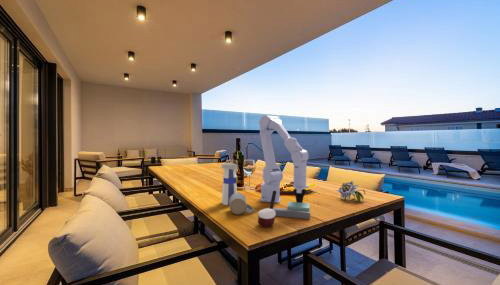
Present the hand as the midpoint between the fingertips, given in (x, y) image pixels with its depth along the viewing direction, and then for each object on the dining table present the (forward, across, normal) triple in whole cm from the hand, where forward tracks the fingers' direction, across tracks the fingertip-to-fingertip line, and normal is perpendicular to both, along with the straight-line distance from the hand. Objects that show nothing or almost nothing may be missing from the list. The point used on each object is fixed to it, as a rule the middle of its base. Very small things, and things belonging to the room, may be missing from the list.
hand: (299, 205), depth 103 cm
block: (+2, -8, 0) cm, 8 cm away
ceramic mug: (+2, -13, +24) cm, 28 cm away
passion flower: (+2, +23, -26) cm, 35 cm away
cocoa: (+2, -24, +11) cm, 27 cm away
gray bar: (+1, -12, +3) cm, 13 cm away
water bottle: (+2, -2, +34) cm, 34 cm away
